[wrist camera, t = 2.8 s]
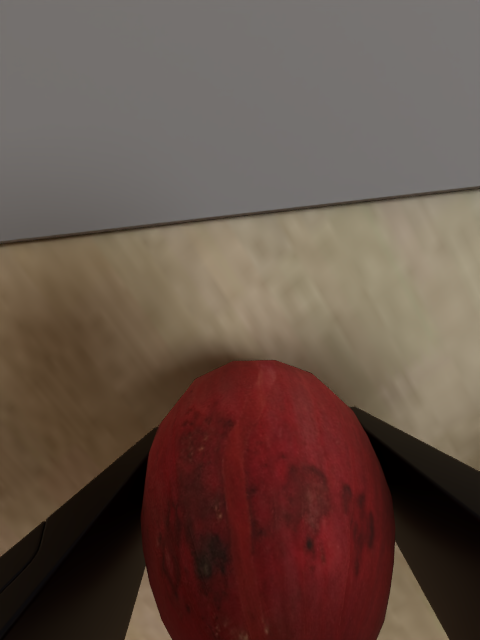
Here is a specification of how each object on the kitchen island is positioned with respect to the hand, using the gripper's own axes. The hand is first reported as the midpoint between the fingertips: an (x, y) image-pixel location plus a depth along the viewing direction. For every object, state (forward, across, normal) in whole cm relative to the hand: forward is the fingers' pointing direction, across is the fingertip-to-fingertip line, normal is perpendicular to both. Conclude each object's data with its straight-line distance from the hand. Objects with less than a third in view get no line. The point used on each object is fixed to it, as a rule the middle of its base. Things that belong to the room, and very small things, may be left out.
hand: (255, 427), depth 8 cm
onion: (+2, 0, 0) cm, 2 cm away
